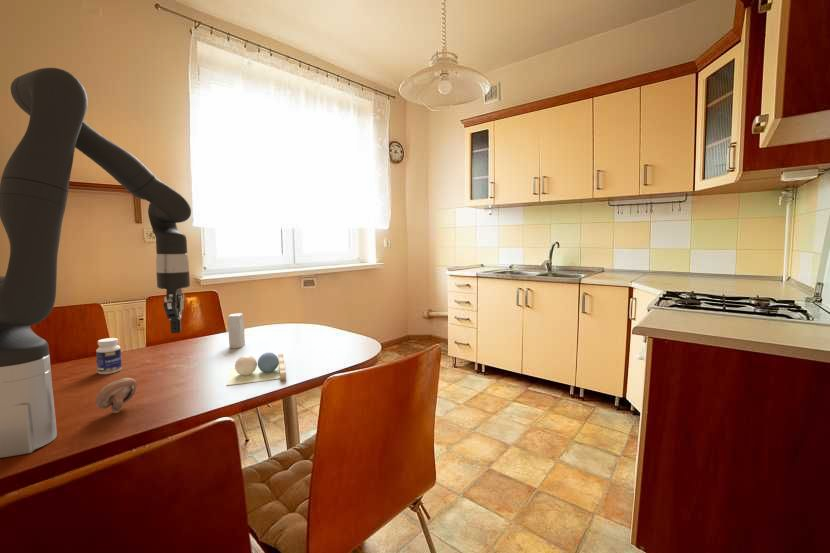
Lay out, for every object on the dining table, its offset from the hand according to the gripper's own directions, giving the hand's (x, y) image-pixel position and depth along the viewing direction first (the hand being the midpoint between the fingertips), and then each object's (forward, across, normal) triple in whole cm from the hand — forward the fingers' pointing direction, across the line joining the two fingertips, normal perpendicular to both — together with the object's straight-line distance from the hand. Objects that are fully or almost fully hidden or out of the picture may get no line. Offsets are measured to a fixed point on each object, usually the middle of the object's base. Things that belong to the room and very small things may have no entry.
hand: (176, 332), depth 102 cm
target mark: (+14, 0, -20) cm, 24 cm away
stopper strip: (+14, 0, -27) cm, 31 cm away
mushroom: (+15, -15, +9) cm, 23 cm away
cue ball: (+12, 0, -17) cm, 21 cm away
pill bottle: (+15, +18, +22) cm, 32 cm away
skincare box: (+14, +34, -12) cm, 39 cm away
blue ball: (+12, 0, -23) cm, 26 cm away
